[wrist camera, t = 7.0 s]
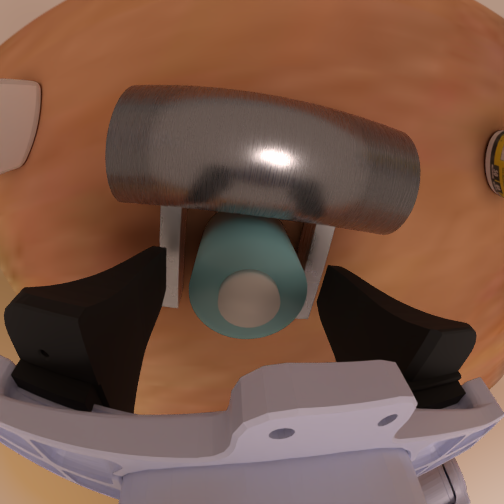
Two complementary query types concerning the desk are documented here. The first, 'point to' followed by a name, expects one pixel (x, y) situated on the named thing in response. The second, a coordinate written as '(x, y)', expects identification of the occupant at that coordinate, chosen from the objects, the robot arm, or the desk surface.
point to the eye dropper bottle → (17, 121)
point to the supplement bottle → (496, 163)
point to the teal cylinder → (246, 277)
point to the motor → (257, 167)
